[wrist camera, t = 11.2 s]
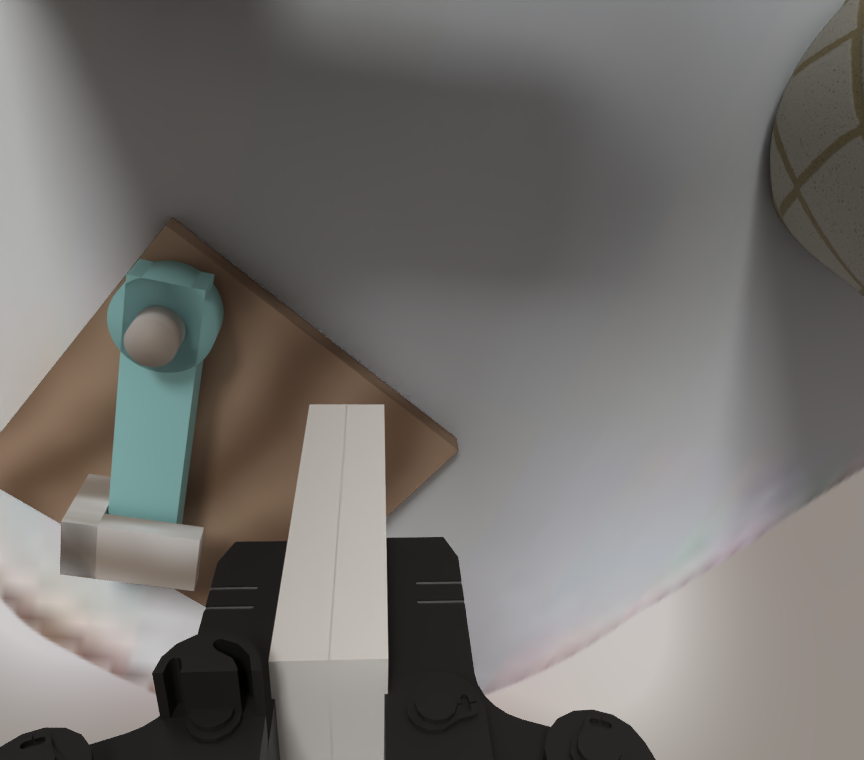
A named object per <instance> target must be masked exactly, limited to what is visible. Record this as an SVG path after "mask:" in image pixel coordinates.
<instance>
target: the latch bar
mask: <svg viewBox="0 0 864 760" xmlns="http://www.w3.org/2000/svg"><path fill="white" fill-rule="evenodd" d="M213 282H214V274H211V273H206V272H201V271H199V270H198V269H196V268H194V267H192V266H190V265H188V264H185V263H182V262H178V261H172V260H161V261H155V262H153V261H148V260H143V259H139V260H138V261H137V262H136V263H135V265H134V266H133V267H132V268H131V269H130V270H129V272H128V273H127V274H126V281H125V282H124V284H123V285H122V286H121V287H120V288H119V290H118V291H117V292H116V293H115V295H114V296H113V298H112V300H111V302H110V304H109V307H108V312H107V324H108V329H109V333H110V335H111V338H112V340H113V342H114V343H115V345H116V346H117V348H118V349H119V350H120V362H119V375H118V389H117V402H116V415H115V428H114V441H113V454H112V468H111V481H110V494H109V507H108V514H111V515H119V516H126V517H133V518H140V519H147V520H155V521H162V522H169V523H176V524H182V521H183V513H184V505H185V498H186V490H187V482H188V475H189V467H190V459H191V452H192V444H193V436H194V428H195V421H196V413H197V405H198V398H199V390H200V382H201V374H202V367H203V360H204V359H205V358H206V356H207V355H208V354H209V352H210V350H211V349H212V347H213V344H214V342H215V340H216V338H217V335H218V333H219V331H220V329H221V326H222V323H223V318H224V307H223V302H222V299H221V296H220V294H219V292H218V290H217V288H216V287H215V285H214V284H213ZM154 305H160V306H165V307H168V308H170V309H172V310H174V311H175V312H176V313H178V314H179V316H180V317H181V318H182V320H183V322H184V324H185V329H186V333H185V337H184V340H183V341H182V343H181V345H180V347H179V349H178V351H177V353H176V354H175V356H174V358H173V359H172V360H171V361H170V362H169V363H167V364H166V365H163V366H160V367H148V366H144V365H141V364H139V363H138V362H136V361H135V360H133V359H132V358H131V357H130V356H129V354H128V353H127V351H126V349H125V346H124V335H125V333H126V331H127V329H128V328H129V326H130V325H131V324H132V322H133V321H134V319H135V318H136V317H137V315H138V314H139V313H140V312H141V311H142V310H143V309H145V308H146V307H149V306H154Z"/></svg>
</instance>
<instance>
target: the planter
mask: <svg viewBox="0 0 864 760" xmlns="http://www.w3.org/2000/svg"><path fill="white" fill-rule="evenodd" d="M770 174H771V185H772V201H773V205H774V207H775V210H776V212H777V214H778V215H779V217H780V219H781V221H782V222H783V224H784V225H785V227H786V228H787V229H788V231H789V232H790V233H791V234H792V235H793V236H794V237H795V239H796V240H797V241H798V242H799V243H800V244H801V245H802V246H803V247H804V248H805V249H806V250H807V251H808V252H809V253H810V254H811V255H812V256H814V257H815V258H816V259H817V260H819V261H820V262H821V263H823V264H824V265H825V266H826V267H828V268H829V269H830V270H832V271H833V272H834V273H835V274H837V275H838V276H839V277H841V278H842V279H843V280H844V281H846V282H847V283H848V284H849V285H851V286H852V287H853V288H854V289H856V290H857V291H858V292H859V293H861V294H862V295H863V296H864V0H846V2H845V3H844V5H843V6H842V7H841V9H840V10H839V11H838V12H837V13H836V14H835V16H834V17H833V18H832V19H831V20H830V21H829V23H828V24H827V25H826V26H825V27H824V29H823V30H822V31H821V32H820V33H819V35H818V36H817V37H816V38H815V40H814V41H813V43H812V44H811V45H810V47H809V48H808V49H807V51H806V52H805V54H804V56H803V57H802V59H801V60H800V62H799V64H798V65H797V67H796V69H795V71H794V73H793V74H792V76H791V78H790V81H789V83H788V85H787V87H786V89H785V92H784V94H783V97H782V99H781V102H780V105H779V108H778V111H777V115H776V119H775V123H774V127H773V133H772V139H771V148H770Z"/></svg>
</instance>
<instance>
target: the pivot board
mask: <svg viewBox="0 0 864 760" xmlns="http://www.w3.org/2000/svg"><path fill="white" fill-rule="evenodd" d="M139 259H143V260H148V261H153V262H155V261H161V260H172V261H178V262H182V263H185V264H188V265H190V266H192V267H194V268H196V269H198V270H199V271H201V272H206V273H211V274H214V282H213V284H214V285H215V287H216V288H217V290H218V292H219V294H220V296H221V299H222V302H223V307H224V318H223V323H222V326H221V329H220V331H219V333H218V335H217V338H216V340H215V342H214V344H213V347H212V349H211V350H210V352H209V354H208V355H207V356H206V358H205V359H204V360H203V367H202V374H201V382H200V390H199V398H198V405H197V413H196V421H195V428H194V436H193V444H192V452H191V459H190V467H189V475H188V482H187V490H186V498H185V505H184V513H183V521H182V524H176V523H169V522H162V521H155V520H147V519H140V518H133V517H126V516H119V515H111V514H108V507H109V494H110V481H111V468H112V454H113V441H114V428H115V415H116V402H117V389H118V375H119V362H120V350H119V349H118V348H117V346H116V345H115V343H114V342H113V340H112V338H111V335H110V333H109V329H108V324H107V312H108V307H109V304H110V302H111V300H112V298H113V296H114V295H115V293H116V292H117V291H118V290H119V288H120V287H121V286H122V285H123V284H124V282H125V281H126V275H125V277H124V278H123V279H122V280H121V282H120V283H119V284H118V285H117V287H116V288H115V289H114V290H113V292H112V293H111V294H110V296H109V297H108V298H107V299H106V301H105V302H104V303H103V304H102V306H101V307H100V308H99V309H98V311H97V312H96V313H95V314H94V316H93V317H92V318H91V319H90V321H89V322H88V323H87V325H86V326H85V327H84V328H83V330H82V331H81V332H80V333H79V335H78V336H77V337H76V338H75V340H74V341H73V342H72V343H71V345H70V346H69V347H68V348H67V350H66V351H65V352H64V354H63V355H62V356H61V357H60V359H59V360H58V361H57V362H56V364H55V365H54V366H53V367H52V369H51V370H50V371H49V372H48V374H47V375H46V376H45V377H44V379H43V380H42V381H41V383H40V384H39V385H38V386H37V388H36V389H35V390H34V391H33V393H32V394H31V395H30V396H29V398H28V399H27V400H26V401H25V403H24V404H23V405H22V406H21V408H20V409H19V410H18V412H17V413H16V414H15V415H14V417H13V418H12V419H11V420H10V422H9V423H8V424H7V425H6V427H5V428H4V429H3V430H2V432H1V433H0V489H1V490H3V491H5V492H7V493H8V494H10V495H12V496H14V497H15V498H17V499H19V500H21V501H22V502H24V503H26V504H27V505H29V506H31V507H33V508H34V509H36V510H38V511H40V512H41V513H43V514H45V515H47V516H48V517H50V518H52V519H54V520H55V521H57V522H59V523H61V558H60V574H61V575H69V576H77V577H85V578H93V579H101V580H109V581H117V582H125V583H133V584H141V585H149V586H157V587H165V588H173V589H175V590H177V591H179V592H181V593H182V594H184V595H186V596H188V597H189V598H191V599H193V600H195V601H196V602H198V603H200V604H202V605H203V606H205V607H206V602H207V599H208V595H209V591H211V584H212V580H213V577H214V573H215V570H216V566H217V562H218V561H219V560H220V559H221V558H222V557H223V555H224V554H225V553H226V552H227V551H228V550H229V549H230V547H231V546H232V545H233V544H234V543H235V542H246V541H288V536H289V530H290V523H291V517H292V511H293V505H294V498H295V492H296V486H297V480H298V473H299V467H300V461H301V455H302V448H303V442H304V436H305V430H306V423H307V417H308V411H309V405H310V404H384V421H385V485H386V517H387V516H388V515H389V514H390V513H391V512H392V511H393V510H395V509H396V508H397V507H398V506H399V505H400V504H401V503H402V502H403V501H404V500H405V499H406V498H408V497H409V496H410V495H411V494H412V493H413V492H414V491H415V490H416V489H417V488H418V487H419V486H420V485H422V484H423V483H424V482H425V481H426V480H427V479H428V478H429V477H430V476H431V475H432V474H433V473H435V472H436V471H437V470H438V469H439V468H440V467H441V466H442V465H443V464H444V463H445V462H446V461H448V460H449V459H450V458H451V457H452V456H453V455H454V454H455V453H456V452H457V451H458V445H457V439H456V437H454V436H453V435H452V434H450V433H449V432H448V431H447V430H445V429H444V428H443V427H441V426H440V425H439V424H438V423H436V422H435V421H434V420H432V419H431V418H430V417H429V416H427V415H426V414H425V413H423V412H422V411H421V410H419V409H418V408H417V407H416V406H414V405H413V404H412V403H410V402H409V401H408V400H407V399H405V398H404V397H403V396H401V395H400V394H399V393H398V392H396V391H395V390H394V389H392V388H391V387H390V386H389V385H387V384H386V383H385V382H383V381H382V380H381V379H380V378H378V377H377V376H376V375H374V374H373V373H372V372H371V371H369V370H368V369H367V368H365V367H364V366H363V365H362V364H360V363H359V362H358V361H356V360H355V359H354V358H353V357H351V356H350V355H349V354H347V353H346V352H345V351H344V350H342V349H341V348H340V347H338V346H337V345H336V344H335V343H333V342H332V341H331V340H329V339H328V338H327V337H326V336H324V335H323V334H322V333H320V332H319V331H318V330H317V329H315V328H314V327H313V326H311V325H310V324H309V323H307V322H306V321H305V320H304V319H302V318H301V317H300V316H298V315H297V314H296V313H295V312H293V311H292V310H291V309H289V308H288V307H287V306H286V305H284V304H283V303H282V302H280V301H279V300H278V299H277V298H275V297H274V296H273V295H271V294H270V293H269V292H268V291H266V290H265V289H264V288H262V287H261V286H260V285H259V284H257V283H256V282H255V281H253V280H252V279H251V278H250V277H248V276H247V275H246V274H244V273H243V272H242V271H241V270H239V269H238V268H237V267H235V266H234V265H233V264H232V263H230V262H229V261H228V260H226V259H225V258H224V257H223V256H221V255H220V254H219V253H217V252H216V251H215V250H214V249H212V248H211V247H210V246H208V245H207V244H206V243H204V242H203V241H202V240H201V239H199V238H198V237H197V236H195V235H194V234H193V233H192V232H190V231H189V230H188V229H186V228H185V227H184V226H183V225H181V224H180V223H179V222H177V221H176V220H175V219H174V218H171V219H170V220H169V221H168V223H167V224H166V225H165V226H164V227H163V229H162V230H161V231H160V233H159V234H158V235H157V236H156V238H155V239H154V240H153V241H152V243H151V244H150V245H149V246H148V248H147V249H146V250H145V251H144V253H143V254H142V255H141V256H140V258H139ZM139 259H138V260H139ZM138 260H137V261H138ZM137 261H136V262H137ZM134 265H135V264H134ZM134 265H133V266H134ZM185 333H186V329H185V324H184V322H183V320H182V318H181V317H180V316H179V314H178V313H176V312H175V311H174V310H172V309H170V308H168V307H165V306H160V305H154V306H149V307H146V308H145V309H143V310H142V311H141V312H140V313H139V314H138V315H137V317H136V318H135V319H134V321H133V322H132V324H131V325H130V326H129V328H128V329H127V331H126V333H125V335H124V346H125V349H126V351H127V353H128V354H129V356H130V357H131V358H132V359H133V360H135V361H136V362H138V363H139V364H141V365H144V366H148V367H160V366H163V365H166V364H167V363H169V362H170V361H171V360H172V359H173V358H174V356H175V354H176V353H177V351H178V349H179V347H180V345H181V343H182V341H183V340H184V337H185Z"/></svg>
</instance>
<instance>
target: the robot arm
mask: <svg viewBox="0 0 864 760" xmlns="http://www.w3.org/2000/svg"><path fill="white" fill-rule="evenodd" d="M152 675H153V680H154V685H155V691H156V696H157V702H158V707H159V712H160V716H159V717H158V718H157V719H155V720H153V721H152V722H150V723H148V724H147V725H145V726H143V727H141V728H139V729H136V730H134V731H131V732H129V733H126V734H123V735H120V736H117V737H113V738H110V739H107V740H103V741H100V742H97V743H94V744H90V745H89V744H88V743H87V741H86V740H85V739H84V737H83V736H82V735H81V734H79V733H76V732H74V731H72V730H69V729H67V728H42V729H39V730H35V731H32V732H28V733H25V734H22V735H20V736H18V737H17V738H15V739H13V740H12V741H10V742H8V743H6V744H5V745H3V746H1V747H0V760H655V758H654V756H653V755H652V753H651V752H650V750H649V748H648V747H647V745H646V743H645V742H644V741H643V740H642V738H641V737H640V736H639V735H638V734H637V733H636V732H635V730H634V729H633V728H632V727H631V726H630V725H628V724H626V723H625V722H623V721H622V720H620V719H618V718H617V717H615V716H614V715H611V714H607V713H603V712H599V711H595V710H581V711H572V712H570V713H568V714H566V715H564V716H562V717H560V718H558V719H557V720H556V721H555V723H554V724H553V725H552V726H551V727H548V726H544V725H541V724H537V723H533V722H529V721H526V720H522V719H520V718H517V717H514V716H512V715H509V714H507V713H505V712H504V711H502V710H501V709H499V708H498V707H496V706H495V705H493V704H492V703H491V702H490V701H489V700H488V699H487V698H486V697H485V696H484V694H483V692H482V691H481V689H480V687H479V686H478V684H477V681H476V677H475V674H474V668H473V661H472V653H471V646H470V639H469V632H468V625H467V618H466V610H465V604H464V596H463V589H462V585H461V575H460V567H459V560H458V556H457V555H456V554H455V552H454V551H453V550H452V548H451V547H450V546H449V544H448V543H447V542H446V540H445V539H444V538H443V537H421V538H386V485H385V421H384V404H310V405H309V411H308V417H307V423H306V430H305V436H304V442H303V448H302V455H301V461H300V467H299V473H298V480H297V486H296V492H295V498H294V505H293V511H292V517H291V523H290V530H289V536H288V541H246V542H235V543H234V544H233V545H232V546H231V547H230V549H229V550H228V551H227V552H226V553H225V554H224V555H223V557H222V558H221V559H220V560H219V561H218V562H217V566H216V570H215V573H214V577H213V580H212V584H211V591H209V595H208V599H207V602H206V609H205V611H204V613H203V617H202V621H201V624H200V628H199V631H198V635H195V636H193V637H191V638H189V639H186V640H184V641H182V642H180V643H178V644H176V645H175V646H174V647H173V648H172V649H170V650H169V651H168V652H167V653H166V654H165V655H163V656H162V657H161V659H160V661H159V662H158V664H157V666H156V668H155V669H154V671H153V673H152Z"/></svg>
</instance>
